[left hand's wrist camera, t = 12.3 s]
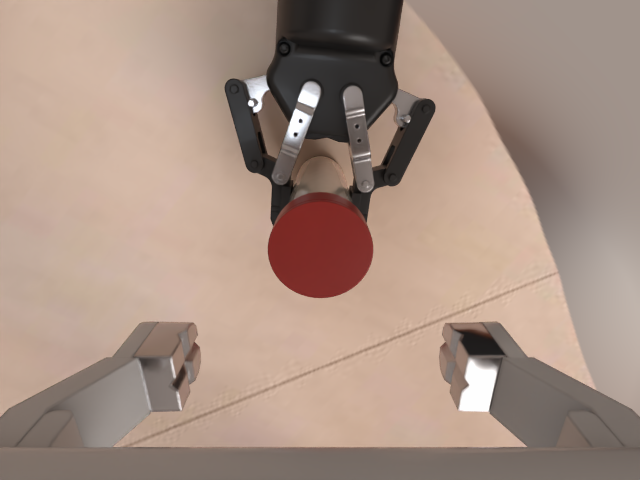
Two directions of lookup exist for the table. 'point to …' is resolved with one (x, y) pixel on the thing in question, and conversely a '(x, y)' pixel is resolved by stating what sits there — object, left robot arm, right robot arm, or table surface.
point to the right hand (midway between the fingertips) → (317, 232)
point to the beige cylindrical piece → (320, 178)
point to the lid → (320, 245)
